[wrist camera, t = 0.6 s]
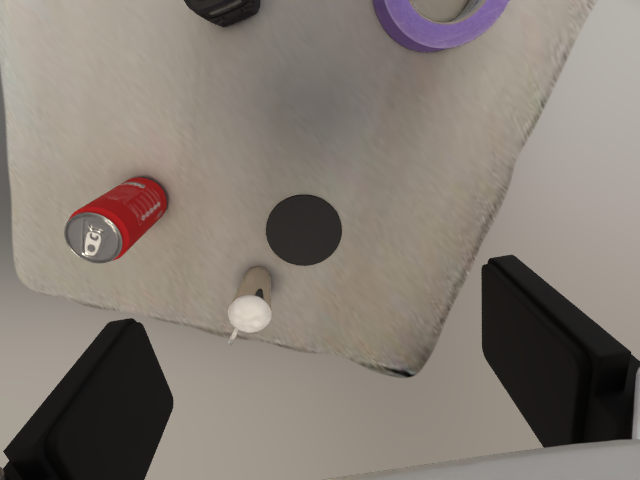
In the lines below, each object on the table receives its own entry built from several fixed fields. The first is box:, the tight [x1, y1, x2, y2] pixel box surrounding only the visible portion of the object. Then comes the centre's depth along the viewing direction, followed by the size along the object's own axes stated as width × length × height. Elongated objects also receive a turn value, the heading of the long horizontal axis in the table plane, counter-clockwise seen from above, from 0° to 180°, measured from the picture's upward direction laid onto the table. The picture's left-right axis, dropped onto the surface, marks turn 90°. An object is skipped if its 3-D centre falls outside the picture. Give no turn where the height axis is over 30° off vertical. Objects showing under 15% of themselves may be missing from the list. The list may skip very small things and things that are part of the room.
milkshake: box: [228, 266, 271, 345], centre depth 44 cm, size 4×5×10 cm
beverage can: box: [64, 178, 167, 263], centre depth 38 cm, size 5×5×12 cm
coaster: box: [266, 195, 342, 266], centre depth 46 cm, size 9×9×1 cm
